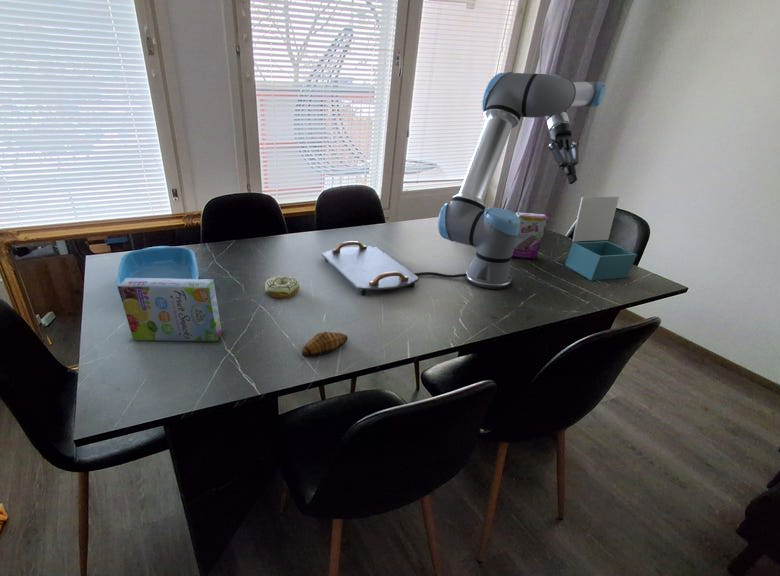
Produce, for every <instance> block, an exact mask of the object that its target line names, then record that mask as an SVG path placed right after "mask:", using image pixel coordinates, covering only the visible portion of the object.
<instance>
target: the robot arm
mask: <svg viewBox="0 0 780 576" xmlns="http://www.w3.org/2000/svg"><path fill="white" fill-rule="evenodd" d="M606 88H607V85H606V83H605V82H600V81H577V80H576V81H574V80H573V81H572V80H571V79H569V78H566V77H565V78H564V77H561V76H559V75H558V74H556V73H552V74H547V73H530V72H524V73H523V72H513V71H507V72H499V73H497V74H495V75H493V77H492V78H491V79H490V80H489V81H488V83H487V85H486V88H485V90H484V92H483V96H482V98H483V99H482V101H481V108H482V112H483V117H484V119H485V120H484V121H485V123H484V126H483V127H482V128H483V129H482V131H481V134H480V136H479V138H478V142H477V145H476V147H475V150H474V153H473V155H472V158H471V161H470V162H469V166H468V169H467V171H466V174H465V175H464V179H463V181H462V184H461V187H460V190H459V192H458V193H457V194H455V195H453V196H452V199H451V201H450V202H447V203H444V204H443V206H442V207H441V208H440V210H439V215H438V219H437V228H438V233H439V236H441V238H443V239H445V240H447V241H450V242H454V243H458V244H462V245H467V246H470V247H473V248H476V250H475V251H476V252H475V255H474V257H473V259H472V261H471V263H470V265H469V267H468V268H467V270H466V272H465V273H459V274H445V273H440V272H433V271H423V272H422V271H421V272H412V273H413V274H414V275H416V276H417V277H419V276H436V277H442V278H448V279H449V278H450V279H453V278H454V279H455V278H465V280H466V281H467V282H468V283H470V284H471V285H473V286H475V287H477V288H478V287H479V288H482V289H486V290H503V289H506V288H508V287H510V286H511V282H512V278H513V277H512V265H511V264H512V263H511V261H512V258H513V257H512V254H513V250H514V247H515V243H516V239H517V236H518V234H519V227H520V218H519V217H518V216H517V215H516V212H513V211H511V210H509V209H505V208H502V207H493V206H491V207H490V206H489V207H487V208H486V205H485V202H484V201H485V198H486V195H487V192H488V191H489V190H488V189H489V187H490V185H491V182H492V181H493V177H494V174H495V172H496V169H497V167H498V164H499V162H500V160H501V156H502V154H503V151H504V149H505V146H506V144H507V142H508V138H509V137H510V133H511V131H512V129H514V128H516V127H517V126H518V125H519V123H520V121H521V118H530V119H531V118H533V119H534V118H535V119H536V118H543V117H545V120H546V125H547V130H548V133H549V137H550V141H551V143H550V144H549V145H548V146H547V148H548V149H549V151H550V152H551V154H552V156H553V157H554V160H555V162H556V164H557V166H558V168H561V170H562V171H564V174H565V176H566V178H567V181H568V185H573V184H574V183H575V182H576V181H578V177H577V169H576V166H577V165H578V164H579V160H580V159H579V158H580V157H579V147H580V142H579V141H577V142H575V141H574V138H573V137H572V133H573V131H572V127H571V124H570V119H569V116H568V112H567V110H569V109H575V108H579V107H589V108H591V107H592V108H597V107H599V106H600V105H601V104H602V101H603V99H604V96H605V94H606Z"/></svg>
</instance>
